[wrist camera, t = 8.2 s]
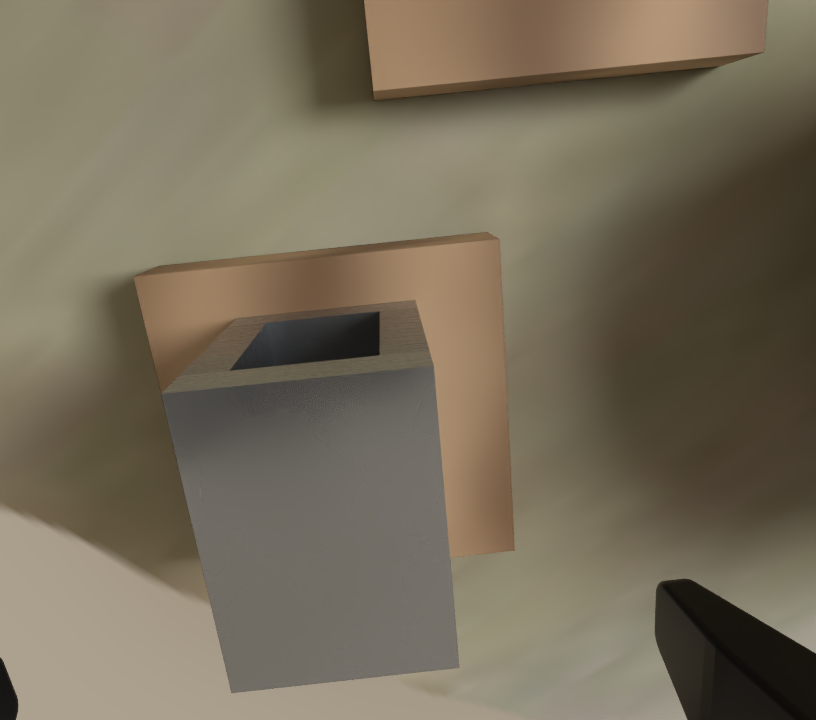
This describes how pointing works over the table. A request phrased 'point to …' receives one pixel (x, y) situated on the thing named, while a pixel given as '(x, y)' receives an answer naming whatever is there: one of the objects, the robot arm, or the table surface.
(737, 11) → the stand
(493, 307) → the stand
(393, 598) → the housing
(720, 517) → the table surface
